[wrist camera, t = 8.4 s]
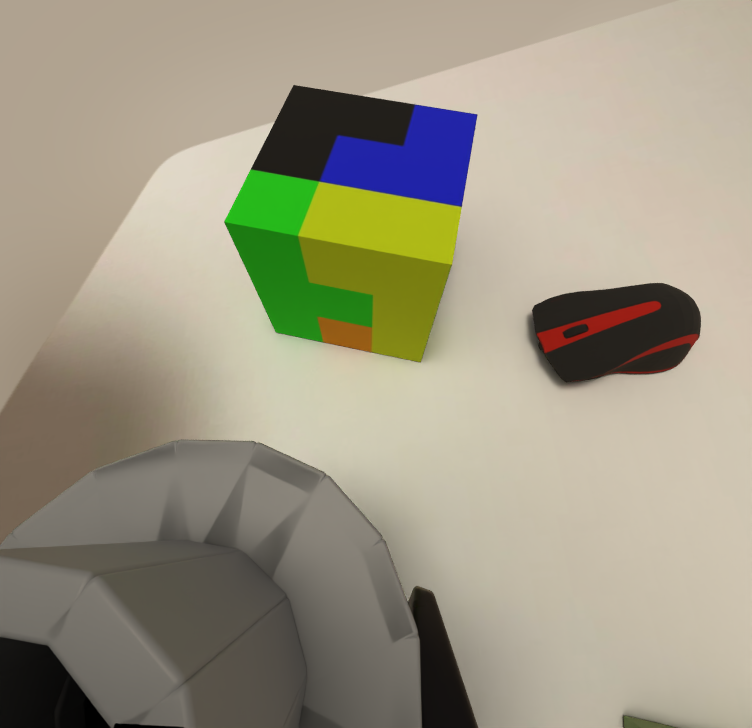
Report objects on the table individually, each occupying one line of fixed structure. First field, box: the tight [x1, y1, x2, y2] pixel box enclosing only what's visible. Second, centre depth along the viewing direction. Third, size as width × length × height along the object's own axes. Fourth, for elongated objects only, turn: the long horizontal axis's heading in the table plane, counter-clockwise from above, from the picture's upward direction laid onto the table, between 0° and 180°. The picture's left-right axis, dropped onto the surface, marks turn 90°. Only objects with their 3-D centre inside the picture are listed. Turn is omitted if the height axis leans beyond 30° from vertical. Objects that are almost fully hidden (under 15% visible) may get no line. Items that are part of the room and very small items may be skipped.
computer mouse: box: [532, 283, 701, 382], centre depth 24 cm, size 6×11×4 cm, turn 102°
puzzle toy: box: [224, 85, 477, 362], centre depth 22 cm, size 10×10×10 cm
